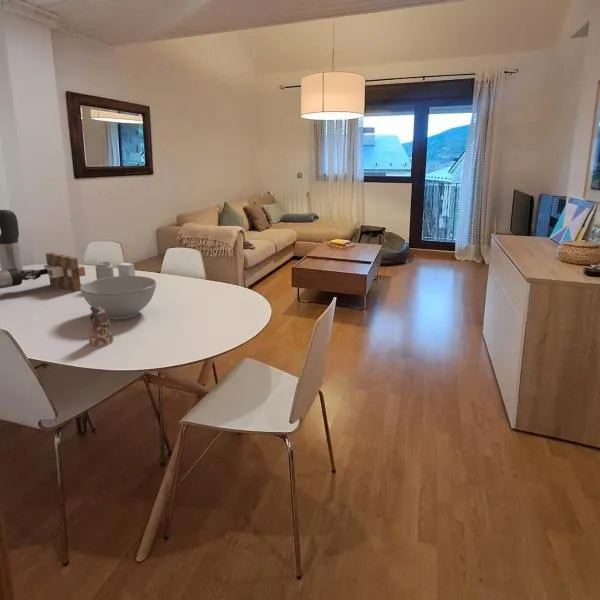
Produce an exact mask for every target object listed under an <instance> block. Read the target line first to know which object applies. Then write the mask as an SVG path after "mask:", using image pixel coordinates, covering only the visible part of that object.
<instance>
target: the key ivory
mask: <svg viewBox="0 0 600 600" xmlns="http://www.w3.org/2000/svg"><path fill="white" fill-rule="evenodd" d="M48 273H49V274H48V278H49V277H52V278H56V277H61V276H64V273H63V267H61V266H56V267H51V268H48Z"/></svg>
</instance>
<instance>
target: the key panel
mask: <svg viewBox="0 0 600 600" xmlns="http://www.w3.org/2000/svg"><path fill="white" fill-rule="evenodd" d="M45 258H46V259H45V260H46V265H48V264H52V265H54V267H56V266H61V267H63V273H64V276H61V277H56V278H52V277H49V276H48V278H49V285H51V286H54V287H59V288H61V289H66V290H69V291H74V292H81V290H80V287H81V286H82V285H83V284H82V283H81V279H80V277H81V276H80V277H79V269H78V266H79V263H78V257H74V256H69V255H64V254H59V253H55V252H47V253H46V252H45ZM67 268H70V269H72V276H73V278H71V277H68V273H67Z"/></svg>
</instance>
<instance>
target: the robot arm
mask: <svg viewBox="0 0 600 600" xmlns="http://www.w3.org/2000/svg"><path fill="white" fill-rule="evenodd" d="M19 237H20V231H19V222H18V218H17V215H16V214H15V212H13V211H12V210H9V209H8V210H7V209H0V268H1V270H0V289H6V288H11V287H12V288H13V287H16V286H17V287H18V286H21V285H22V283H23V281H29V280H31V279H32V280H37V279H40V278H41V276H43V275H49V274H48V271H47V269H45V268H42V269H24V267H23V262H22V257H21V256H22V255H21V249H20V245H19Z"/></svg>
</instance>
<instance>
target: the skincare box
mask: <svg viewBox="0 0 600 600" xmlns="http://www.w3.org/2000/svg"><path fill="white" fill-rule="evenodd" d="M117 270H118V271H117V272H118V276H136V270H135V264H134V263H130V262H129V263H128V262H122V263H118V264H117Z"/></svg>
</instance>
